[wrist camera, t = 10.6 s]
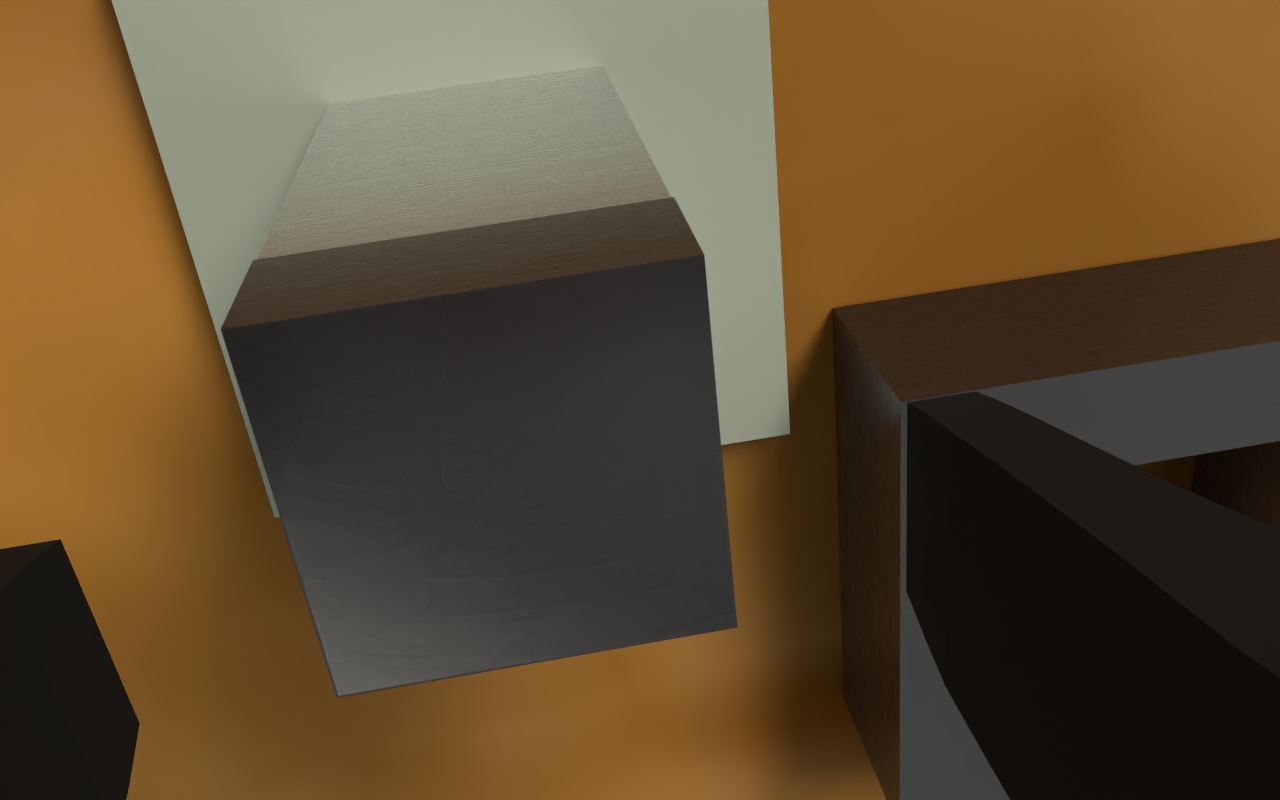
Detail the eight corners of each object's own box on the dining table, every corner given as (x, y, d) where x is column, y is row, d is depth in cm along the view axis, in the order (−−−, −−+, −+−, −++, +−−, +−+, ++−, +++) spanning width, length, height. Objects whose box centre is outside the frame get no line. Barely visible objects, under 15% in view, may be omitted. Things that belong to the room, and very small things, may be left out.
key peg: (635, 314, 19) (736, 627, 11) (387, 353, 18) (337, 697, 11) (604, 63, 17) (705, 255, 10) (326, 102, 16) (220, 329, 9)
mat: (781, 417, 20) (790, 434, 20) (279, 499, 20) (274, 517, 19) (752, -129, 16) (761, -127, 16) (110, -46, 16) (98, -41, 15)
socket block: (1250, 625, 24) (1362, 743, 21) (844, 698, 24) (899, 830, 21) (1325, 231, 20) (1479, 307, 17) (832, 307, 20) (901, 402, 17)
